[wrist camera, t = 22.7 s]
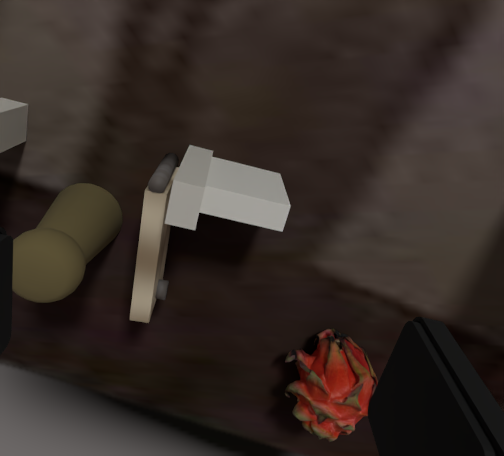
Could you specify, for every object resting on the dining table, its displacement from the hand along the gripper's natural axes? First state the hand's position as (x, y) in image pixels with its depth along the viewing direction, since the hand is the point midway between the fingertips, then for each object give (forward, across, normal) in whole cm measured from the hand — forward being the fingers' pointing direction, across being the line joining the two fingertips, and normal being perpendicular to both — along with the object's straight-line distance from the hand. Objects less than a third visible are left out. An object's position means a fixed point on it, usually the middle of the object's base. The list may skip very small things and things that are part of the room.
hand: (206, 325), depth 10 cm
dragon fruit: (+28, -14, +22) cm, 38 cm away
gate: (+27, +5, +9) cm, 29 cm away
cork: (+27, +12, +11) cm, 31 cm away
